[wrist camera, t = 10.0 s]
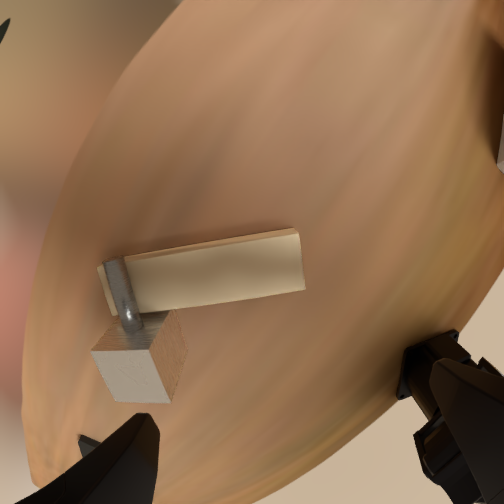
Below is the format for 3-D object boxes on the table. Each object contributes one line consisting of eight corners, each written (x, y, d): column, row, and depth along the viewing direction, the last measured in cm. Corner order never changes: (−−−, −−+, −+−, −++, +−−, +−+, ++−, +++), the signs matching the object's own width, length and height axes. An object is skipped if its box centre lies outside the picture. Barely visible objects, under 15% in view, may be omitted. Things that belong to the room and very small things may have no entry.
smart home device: (137, 464, 23) (140, 509, 27) (140, 454, 24) (142, 502, 29) (75, 439, 22) (95, 492, 27) (80, 430, 24) (98, 486, 28)
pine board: (299, 278, 19) (305, 289, 17) (122, 304, 19) (112, 315, 17) (293, 227, 18) (298, 233, 16) (109, 259, 18) (96, 267, 16)
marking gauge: (187, 350, 20) (171, 403, 14) (141, 353, 20) (115, 401, 14) (158, 242, 18) (122, 268, 12) (109, 251, 18) (62, 278, 12)
